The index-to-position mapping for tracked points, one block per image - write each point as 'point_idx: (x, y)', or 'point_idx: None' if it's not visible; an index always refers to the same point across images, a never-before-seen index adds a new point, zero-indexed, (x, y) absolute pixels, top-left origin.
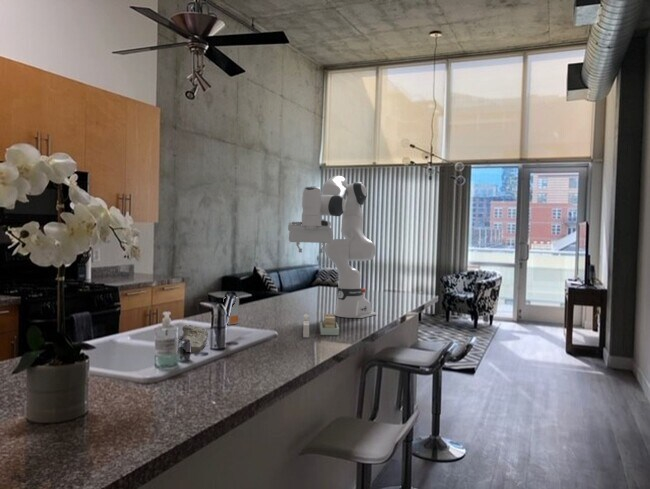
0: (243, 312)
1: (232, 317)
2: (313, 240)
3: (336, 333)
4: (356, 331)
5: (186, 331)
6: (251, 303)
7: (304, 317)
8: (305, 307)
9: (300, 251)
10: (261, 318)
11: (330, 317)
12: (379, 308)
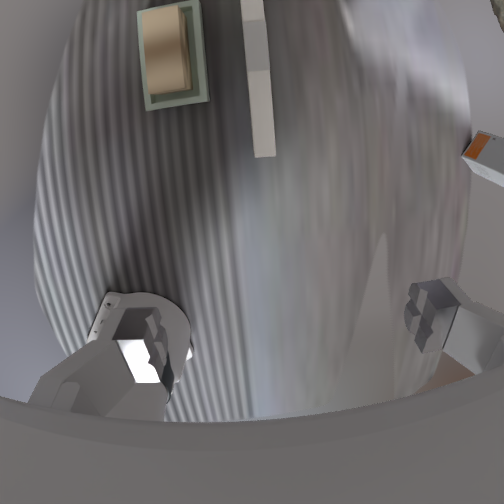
0: None
1: (484, 142)
2: (255, 458)
3: None
4: (92, 87)
5: None
6: None
7: (267, 66)
8: (281, 400)
9: (432, 283)
10: (406, 238)
11: (158, 18)
12: None
